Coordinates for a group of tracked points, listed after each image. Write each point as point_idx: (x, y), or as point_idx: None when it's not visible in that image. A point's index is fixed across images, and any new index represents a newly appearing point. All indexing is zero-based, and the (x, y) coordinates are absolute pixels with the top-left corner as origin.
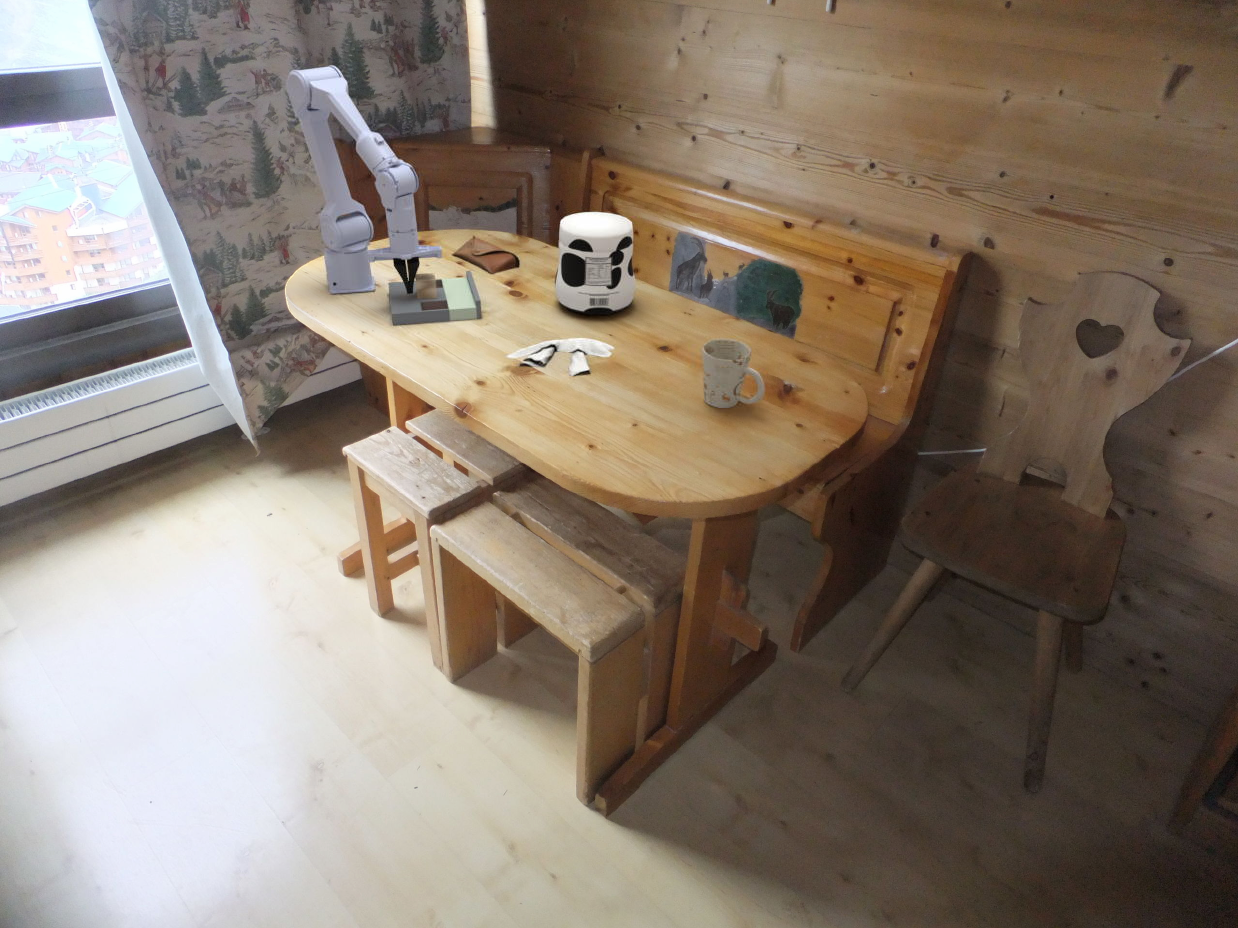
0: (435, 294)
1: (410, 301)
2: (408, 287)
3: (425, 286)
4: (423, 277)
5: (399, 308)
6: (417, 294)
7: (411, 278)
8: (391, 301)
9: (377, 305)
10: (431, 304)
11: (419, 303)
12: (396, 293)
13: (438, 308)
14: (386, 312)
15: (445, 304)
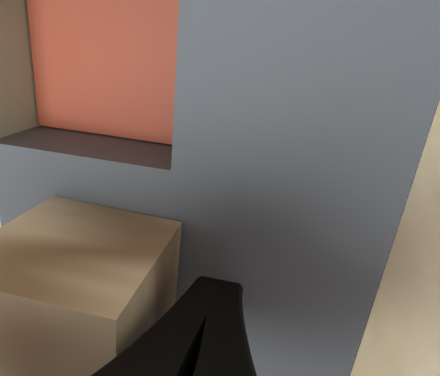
0: (41, 209)
1: (238, 206)
2: (217, 311)
3: (64, 260)
4: (39, 369)
5: (358, 96)
6: (167, 239)
7: (149, 368)
8: (379, 253)
9: (416, 338)
10: (105, 153)
11: (178, 146)
12: (303, 360)
13: (80, 136)
14: (398, 233)
15: (22, 137)
